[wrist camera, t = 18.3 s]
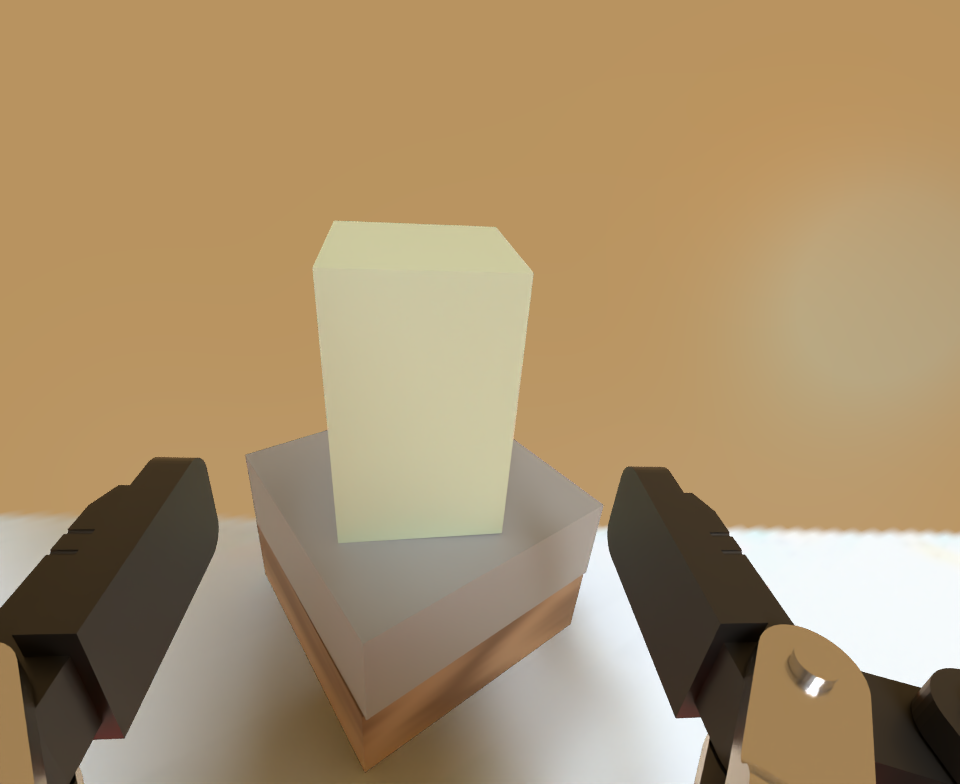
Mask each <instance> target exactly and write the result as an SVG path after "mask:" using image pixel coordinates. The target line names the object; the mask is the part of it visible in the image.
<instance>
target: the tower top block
mask: <svg viewBox="0 0 960 784" xmlns="http://www.w3.org/2000/svg"><path fill="white" fill-rule="evenodd" d="M245 456H246V462H247V467H248V474H249V479H250V485H251V491H252V496H253V503H254V508H255V514H256V520H257V524H258V526H259V528H260V530H261V531H262V533H263V535H264V537H265V539H266V540H267V542H268V544H269V546H270V548H271V549H272V551H273V553H274V555H275V557H276V558H277V560H278V562H279V564H280V565H281V567H282V569H283V571H284V573H285V574H286V576H287V578H288V580H289V582H290V583H291V585H292V587H293V589H294V591H295V592H296V594H297V596H298V598H299V600H300V601H301V603H302V605H303V607H304V609H305V610H306V612H307V614H308V616H309V618H310V619H311V621H312V623H313V625H314V627H315V628H316V630H317V632H318V634H319V636H320V637H321V639H322V641H323V643H324V645H325V646H326V648H327V650H328V652H329V654H330V655H331V657H332V659H333V661H334V663H335V664H336V666H337V668H338V670H339V672H340V673H341V675H342V677H343V679H344V681H345V682H346V684H347V686H348V688H349V690H350V691H351V693H352V695H353V697H354V699H355V700H356V702H357V704H358V706H359V708H360V709H361V711H362V713H363V715H364V717H365V719H366V720H368V719H369V718H371V717H372V716H374V715H375V714H377V713H378V712H380V711H381V710H383V709H384V708H386V707H387V706H388V705H390V704H391V703H393V702H394V701H396V700H397V699H399V698H400V697H402V696H403V695H405V694H406V693H408V692H409V691H411V690H412V689H414V688H415V687H417V686H418V685H420V684H421V683H423V682H424V681H426V680H427V679H429V678H430V677H431V676H433V675H434V674H436V673H437V672H439V671H440V670H442V669H443V668H445V667H446V666H448V665H449V664H451V663H452V662H454V661H455V660H457V659H458V658H460V657H461V656H463V655H464V654H466V653H467V652H469V651H470V650H471V649H473V648H474V647H476V646H477V645H479V644H480V643H482V642H483V641H485V640H486V639H488V638H489V637H491V636H492V635H494V634H495V633H497V632H498V631H500V630H501V629H503V628H504V627H506V626H507V625H509V624H510V623H511V622H513V621H514V620H516V619H517V618H519V617H520V616H522V615H523V614H525V613H526V612H528V611H529V610H531V609H532V608H534V607H535V606H537V605H538V604H540V603H541V602H543V601H544V600H546V599H547V598H549V597H550V596H552V595H553V594H554V593H556V592H557V591H559V590H560V589H562V588H563V587H565V586H566V585H568V584H569V583H571V582H572V581H574V580H575V579H577V578H578V577H580V576H581V575H583V574H584V573H586V570H587V567H588V563H589V559H590V555H591V551H592V547H593V543H594V540H595V536H596V532H597V528H598V524H599V520H600V516H601V513H602V508H603V504H601V503H600V502H599V501H597V500H596V499H594V498H593V497H592V496H590V495H589V494H587V493H586V492H585V491H584V490H582V489H581V488H580V487H578V486H577V485H576V484H574V483H573V482H571V481H570V480H569V479H567V478H566V477H565V476H563V475H562V474H561V473H559V472H558V471H556V470H555V469H554V468H552V467H551V466H549V465H548V464H547V463H546V462H544V461H542V460H541V459H540V458H539V457H537V456H536V455H535V454H533V453H532V452H531V451H529V450H528V449H526V448H525V447H524V446H522V445H521V444H520V443H518V442H517V441H516V440H514V439H513V446H512V454H511V462H510V470H509V478H508V487H507V495H506V503H505V511H504V519H503V528H502V533H497V534H480V535H464V536H448V537H431V538H415V539H399V540H383V541H366V542H350V543H338V537H337V526H336V515H335V504H334V494H333V483H332V472H331V461H330V450H329V439H328V430H326V431H323V432H320V433H316V434H313V435H310V436H306V437H303V438H299V439H296V440H293V441H290V442H286V443H283V444H279V445H276V446H273V447H270V448H266V449H263V450H260V451H256V452H253V453H250V454H246V455H245Z"/></svg>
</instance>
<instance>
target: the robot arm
mask: <svg viewBox="0 0 960 784" xmlns="http://www.w3.org/2000/svg"><path fill="white" fill-rule="evenodd" d="M218 529H219V526H218V518H217V513H216V509H215V504H214V499H213V495H212V490H211V486H210V481H209V476H208V472H207V468H206V465H205V462H204V461H203V460H202V459H201V458H169V457H155V458H153V459H152V460H150V461H149V462H148V463H147V465H146V466H145V467H144V468H143V470H142V471H141V472H140V473H139V475H138V476H137V477H136V478H135V480H134V481H133V482H132V484H131V485H118V486H117V487H116V488H114V489H112V490H111V491H109V492H108V493H106V494H105V495H103V496H102V497H100V498H99V499H97V500H96V501H94V502H93V503H91V504H90V505H88V507H87V508H86V509H85V510H84V511H83V512H82V514H81V515H80V516H79V517H78V518H77V519H76V521H75V522H74V523H73V524H72V525H71V526H70V528H69V529H68V533H67V534H64V535H63V536H62V537H61V538H60V539H59V540H58V542H57V543H56V544H55V545H54V546H53V547H52V549H51V553H50V555H46V556H45V557H44V558H43V559H42V560H41V561H40V563H39V564H38V565H37V566H36V567H35V568H34V570H33V571H32V572H31V573H30V574H29V575H28V577H27V578H26V579H25V580H24V581H23V582H22V584H21V585H20V586H19V587H18V588H17V589H16V591H15V592H14V593H13V594H12V595H11V596H10V598H9V599H8V600H7V601H6V602H5V603H4V605H3V606H2V607H1V608H0V784H84V780H83V776H82V772H81V770H80V767H79V765H80V763H81V761H82V759H83V757H84V755H85V754H86V752H87V750H88V748H89V746H90V744H91V742H92V740H97V739H122V738H125V736H126V734H127V732H128V730H129V728H130V726H131V724H132V722H133V720H134V718H135V716H136V714H137V712H138V710H139V707H140V705H141V703H142V701H143V699H144V697H145V695H146V693H147V691H148V689H149V687H150V685H151V683H152V681H153V679H154V676H155V674H156V672H157V670H158V668H159V666H160V664H161V662H162V660H163V658H164V656H165V654H166V652H167V650H168V648H169V646H170V643H171V641H172V639H173V637H174V635H175V633H176V631H177V629H178V627H179V625H180V623H181V621H182V619H183V617H184V615H185V613H186V610H187V608H188V606H189V604H190V602H191V600H192V598H193V596H194V594H195V592H196V590H197V588H198V586H199V584H200V582H201V580H202V577H203V575H204V573H205V571H206V569H207V567H208V565H209V563H210V561H211V559H212V557H213V554H214V552H215V549H216V545H217V540H218ZM607 537H608V547H609V551H610V555H611V558H612V560H613V563H614V565H615V568H616V570H617V573H618V575H619V578H620V580H621V583H622V585H623V588H624V590H625V593H626V595H627V598H628V600H629V603H630V605H631V608H632V610H633V613H634V615H635V618H636V620H637V623H638V625H639V628H640V630H641V633H642V635H643V638H644V640H645V643H646V645H647V648H648V650H649V653H650V655H651V658H652V660H653V663H654V665H655V668H656V670H657V673H658V675H659V678H660V680H661V683H662V685H663V688H664V690H665V693H666V695H667V698H668V700H669V703H670V705H671V708H672V710H673V713H674V715H675V718H695V717H701V719H702V721H703V723H704V726H705V728H706V730H707V732H708V734H707V736H706V738H705V740H704V743H703V746H702V750H701V755H700V759H699V764H698V768H697V772H696V777H695V781H694V784H960V669H954V668H945V669H941V670H938V671H936V672H935V673H934V674H933V675H932V676H931V677H930V678H929V680H928V681H927V682H926V683H925V684H924V685H923V687H922V688H920V687H916V686H912V685H909V684H905V683H901V682H898V681H894V680H890V679H887V678H883V677H880V676H876V675H872V674H869V673H865V672H862V671H860V669H859V668H858V667H857V665H856V664H855V663H854V662H853V661H852V660H851V658H850V657H849V656H848V655H847V654H846V653H844V652H843V651H842V650H841V649H840V648H839V647H837V646H836V645H835V644H833V643H832V642H831V641H829V640H827V639H826V638H824V637H823V636H821V635H819V634H817V633H815V632H813V631H810V630H808V629H805V628H802V627H799V626H795V625H794V624H793V623H792V621H791V620H790V618H789V617H788V615H787V614H786V613H785V611H784V610H783V608H782V607H781V605H780V604H779V603H778V601H777V600H776V598H775V597H774V595H773V594H772V593H771V591H770V590H769V588H768V587H767V585H766V584H765V583H764V581H763V580H762V578H761V577H760V575H759V574H758V573H757V571H756V570H755V568H754V567H753V565H752V564H751V563H750V561H749V560H748V558H747V557H746V555H742V550H741V548H740V547H739V545H738V544H737V543H736V541H735V540H734V538H733V537H730V536H729V531H728V530H727V528H726V527H725V525H724V524H723V522H722V521H721V520H720V518H719V517H718V516H717V514H716V512H715V511H714V510H712V509H711V508H710V507H709V506H708V505H706V504H705V503H704V502H703V501H701V500H700V499H699V498H698V497H696V496H695V495H694V494H692V493H683V491H682V489H681V488H680V486H679V485H678V483H677V482H676V480H675V479H674V477H673V476H672V474H671V473H670V471H669V470H668V469H667V468H665V467H626V468H625V470H624V471H623V473H622V476H621V480H620V483H619V487H618V491H617V494H616V498H615V502H614V505H613V509H612V513H611V516H610V520H609V524H608V532H607Z"/></svg>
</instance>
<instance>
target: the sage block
mask: <svg viewBox="0 0 960 784" xmlns="http://www.w3.org/2000/svg"><path fill="white" fill-rule="evenodd" d="M313 277H314V286H315V287H314V288H315V298H316V308H317V320H318V331H319V340H320V341H319V342H320V352H321V363H322V374H323V385H324V396H325V407H326V418H327V428H328V439H329V450H330V461H331V472H332V483H333V494H334V504H335V515H336V526H337V537H338V543H350V542H366V541H383V540H399V539H415V538H431V537H448V536H464V535H480V534H497V533H502V528H503V519H504V511H505V503H506V495H507V487H508V478H509V470H510V462H511V454H512V446H513V437H514V429H515V420H516V412H517V403H518V396H519V388H520V380H521V371H522V363H523V355H524V347H525V338H526V330H527V323H528V314H529V305H530V298H531V289H532V281H533V272H532V271H531V269H530V268H529V267H528V266H527V265H526V264H525V262H524V261H523V260H522V258H521V257H520V256H519V255H518V254H517V252H516V251H515V250H514V249H513V248H512V246H511V245H510V244H509V242H508V241H507V240H506V239H505V238H504V236H503V235H502V234H501V233H500V231H499V230H498V229H497V228H496V227H481V226H455V225H430V224H428V225H427V224H404V223H378V222H377V223H376V222H353V221H352V222H351V221H334V222H333V224H332V227H331V229H330V231H329V233H328V235H327V238H326V240H325V242H324V244H323V246H322V248H321V251H320V253H319V255H318V257H317V259H316V262H315V264H314V266H313Z"/></svg>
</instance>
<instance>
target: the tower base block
mask: <svg viewBox="0 0 960 784" xmlns="http://www.w3.org/2000/svg"><path fill="white" fill-rule="evenodd" d="M257 527H258V533H259V539H260V545H261V550H262V556H263V562H264V568H265V574H266V576H267V578H268V580H269V582H270V584H271V586H272V588H273V590H274V592H275V594H276V596H277V598H278V600H279V602H280V604H281V606H282V608H283V610H284V612H285V614H286V616H287V618H288V620H289V622H290V624H291V626H292V628H293V630H294V632H295V634H296V636H297V638H298V640H299V642H300V644H301V646H302V648H303V650H304V652H305V654H306V656H307V658H308V660H309V662H310V664H311V666H312V668H313V670H314V672H315V674H316V676H317V678H318V680H319V682H320V684H321V686H322V688H323V690H324V692H325V694H326V696H327V698H328V700H329V702H330V704H331V706H332V708H333V710H334V712H335V714H336V716H337V718H338V720H339V722H340V724H341V726H342V728H343V730H344V732H345V734H346V736H347V738H348V740H349V742H350V744H351V746H352V748H353V750H354V752H355V754H356V756H357V758H358V760H359V762H360V764H361V766H362V768H363V770H364V772H367V771H368V770H369V769H371V768H372V767H374V766H375V765H376V764H378V763H379V762H381V761H382V760H383V759H385V758H386V757H387V756H389V755H390V754H392V753H393V752H394V751H396V750H397V749H398V748H400V747H401V746H403V745H404V744H405V743H407V742H408V741H410V740H411V739H412V738H414V737H415V736H416V735H418V734H419V733H421V732H422V731H423V730H425V729H426V728H427V727H429V726H430V725H432V724H433V723H434V722H436V721H437V720H439V719H440V718H441V717H443V716H444V715H445V714H447V713H448V712H450V711H451V710H452V709H454V708H455V707H456V706H458V705H459V704H461V703H462V702H463V701H465V700H466V699H468V698H469V697H470V696H472V695H473V694H474V693H476V692H477V691H479V690H480V689H481V688H483V687H484V686H486V685H487V684H488V683H490V682H491V681H492V680H494V679H495V678H497V677H498V676H499V675H501V674H502V673H503V672H505V671H506V670H508V669H509V668H510V667H512V666H513V665H515V664H516V663H517V662H519V661H520V660H521V659H523V658H524V657H526V656H527V655H528V654H530V653H531V652H532V651H534V650H535V649H537V648H538V647H539V646H541V645H542V644H544V643H545V642H546V641H548V640H549V639H550V638H552V637H553V636H555V635H556V634H557V633H559V632H560V631H562V630H563V629H564V628H566V627H567V626H568V625H570V624H571V620H572V616H573V612H574V608H575V604H576V600H577V597H578V593H579V589H580V585H581V581H582V577H583V575H581V576H580V577H578V578H577V579H575V580H574V581H572V582H571V583H569V584H568V585H566V586H565V587H563V588H562V589H560V590H559V591H557V592H556V593H554V594H553V595H552V596H550V597H549V598H547V599H546V600H544V601H543V602H541V603H540V604H538V605H537V606H535V607H534V608H532V609H531V610H529V611H528V612H526V613H525V614H523V615H522V616H520V617H519V618H517V619H516V620H514V621H513V622H511V623H510V624H509V625H507V626H506V627H504V628H503V629H501V630H500V631H498V632H497V633H495V634H494V635H492V636H491V637H489V638H488V639H486V640H485V641H483V642H482V643H480V644H479V645H477V646H476V647H474V648H473V649H471V650H470V651H469V652H467V653H466V654H464V655H463V656H461V657H460V658H458V659H457V660H455V661H454V662H452V663H451V664H449V665H448V666H446V667H445V668H443V669H442V670H440V671H439V672H437V673H436V674H434V675H433V676H431V677H430V678H429V679H427V680H426V681H424V682H423V683H421V684H420V685H418V686H417V687H415V688H414V689H412V690H411V691H409V692H408V693H406V694H405V695H403V696H402V697H400V698H399V699H397V700H396V701H394V702H393V703H391V704H390V705H388V706H387V707H386V708H384V709H383V710H381V711H380V712H378V713H377V714H375V715H374V716H372V717H371V718H369V719H368V720H366V719H365V717H364V715H363V713H362V711H361V709H360V708H359V706H358V704H357V702H356V700H355V699H354V697H353V695H352V693H351V691H350V690H349V688H348V686H347V684H346V682H345V681H344V679H343V677H342V675H341V673H340V672H339V670H338V668H337V666H336V664H335V663H334V661H333V659H332V657H331V655H330V654H329V652H328V650H327V648H326V646H325V645H324V643H323V641H322V639H321V637H320V636H319V634H318V632H317V630H316V628H315V627H314V625H313V623H312V621H311V619H310V618H309V616H308V614H307V612H306V610H305V609H304V607H303V605H302V603H301V601H300V600H299V598H298V596H297V594H296V592H295V591H294V589H293V587H292V585H291V583H290V582H289V580H288V578H287V576H286V574H285V573H284V571H283V569H282V567H281V565H280V564H279V562H278V560H277V558H276V557H275V555H274V553H273V551H272V549H271V548H270V546H269V544H268V542H267V540H266V539H265V537H264V535H263V533H262V531H261V530H260V528H259V526H258V524H257Z"/></svg>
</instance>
